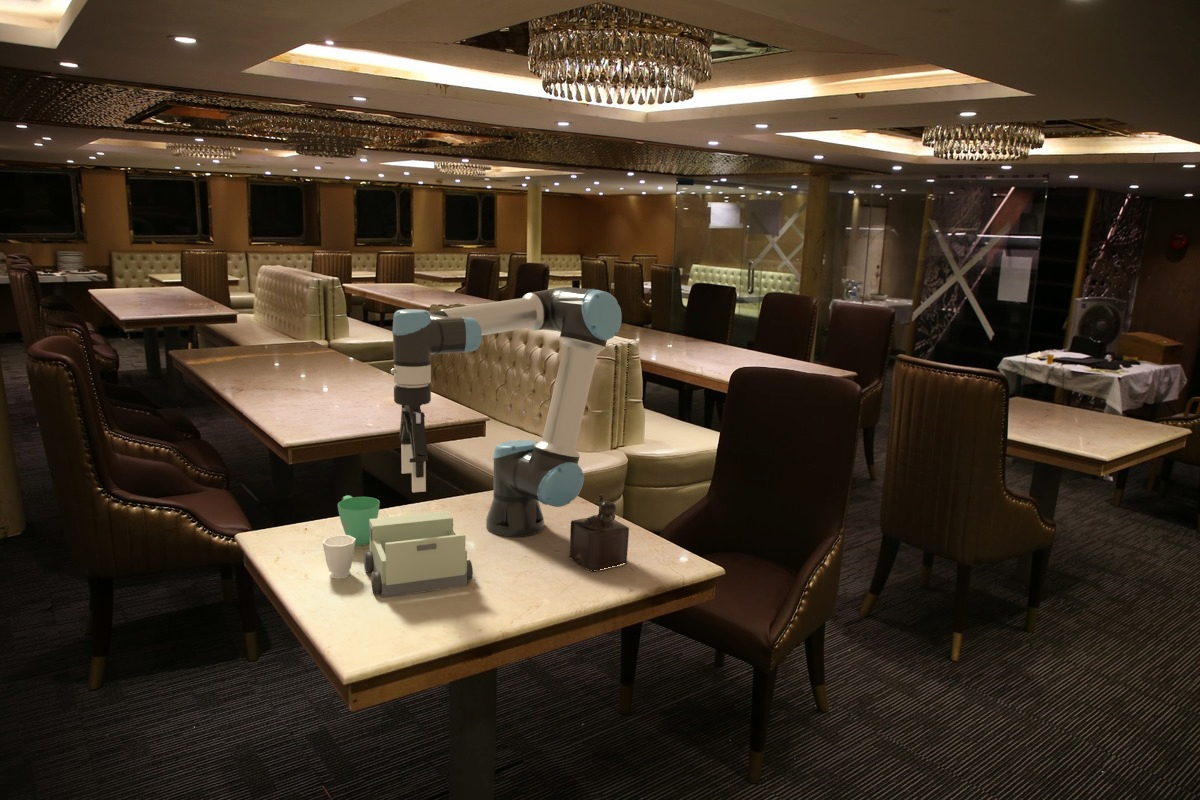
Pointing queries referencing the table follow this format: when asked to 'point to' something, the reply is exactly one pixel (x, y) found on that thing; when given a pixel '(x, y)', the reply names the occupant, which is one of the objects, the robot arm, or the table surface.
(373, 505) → the mug
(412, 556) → the panel
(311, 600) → the table surface
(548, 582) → the table surface
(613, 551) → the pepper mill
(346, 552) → the cup
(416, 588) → the pickup truck
